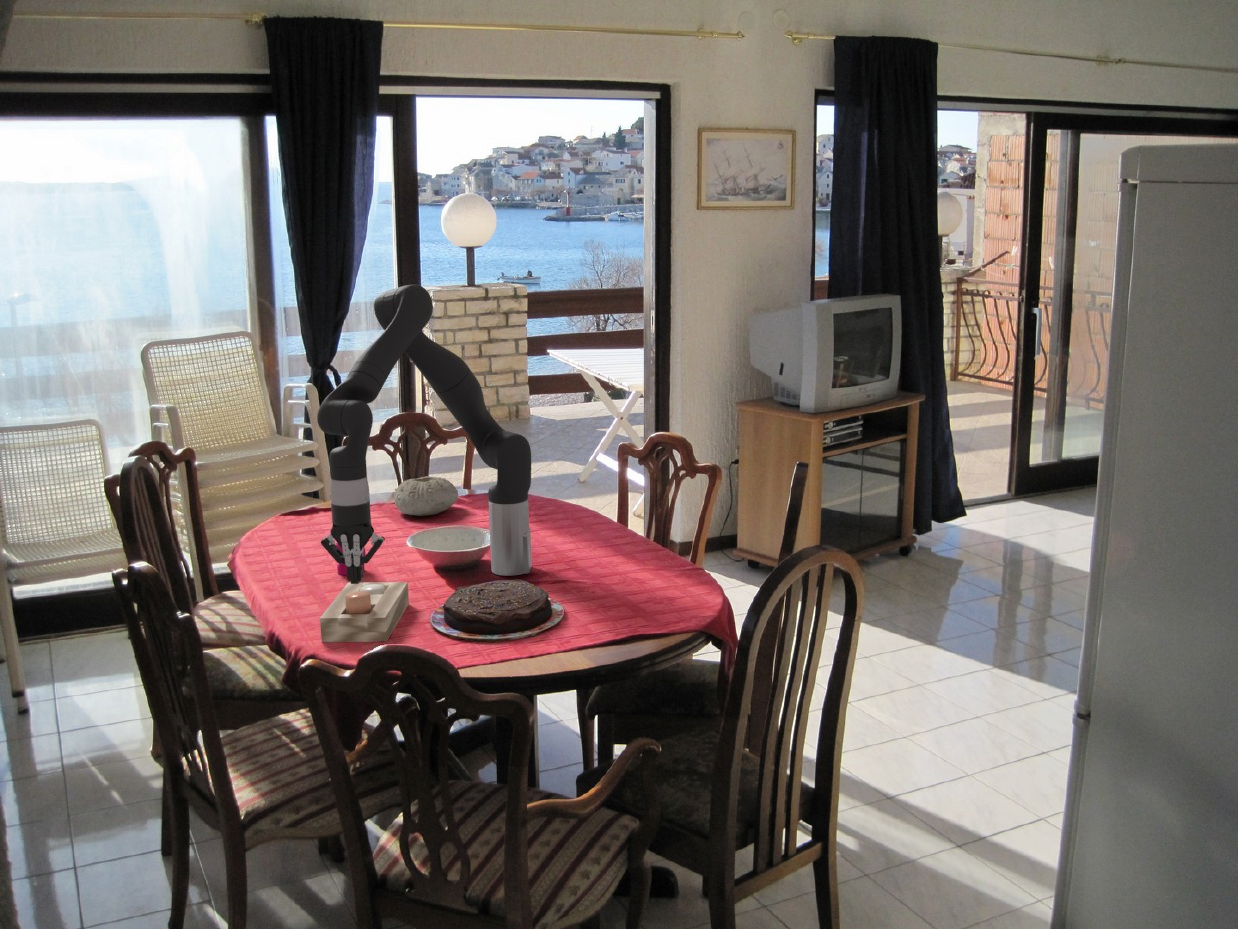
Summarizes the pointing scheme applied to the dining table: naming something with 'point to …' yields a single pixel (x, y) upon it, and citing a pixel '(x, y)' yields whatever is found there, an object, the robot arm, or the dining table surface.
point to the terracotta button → (358, 602)
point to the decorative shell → (425, 496)
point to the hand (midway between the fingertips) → (355, 582)
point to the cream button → (373, 589)
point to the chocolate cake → (497, 612)
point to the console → (365, 615)
